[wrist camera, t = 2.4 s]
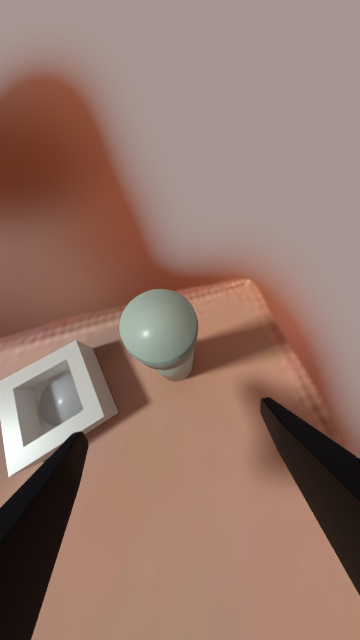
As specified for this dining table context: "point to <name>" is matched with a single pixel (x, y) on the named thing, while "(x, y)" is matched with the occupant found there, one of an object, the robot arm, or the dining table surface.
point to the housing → (52, 404)
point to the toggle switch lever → (161, 332)
